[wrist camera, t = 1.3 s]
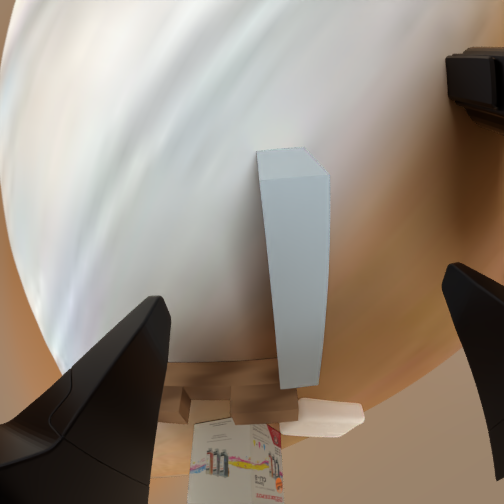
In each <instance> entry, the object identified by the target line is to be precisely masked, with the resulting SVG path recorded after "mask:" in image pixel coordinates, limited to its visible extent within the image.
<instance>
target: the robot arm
mask: <svg viewBox="0 0 504 504" xmlns="http://www.w3.org/2000/svg"><path fill="white" fill-rule="evenodd" d="M446 67H447V80H448V95H449V97H450V99H451V100H455V103H456V105H458V106H462V107H464V108H465V110H466V112H467V113H468V115H469V116H470V118H471V119H472V120H473V121H474V122H475V123H476V124H477V125H479V126H480V127H482V128H485V129H487V130H490V131H493V132H496V133H499V134H501V135H504V48H503V47H471V48H468V49H467V50H465V51H464V52H463V54H453V55H452V56H447V58H446ZM442 292H443V294H444V297H445V300H446V303H447V305H448V308H449V311H450V314H451V317H452V320H453V323H454V326H455V329H456V331H457V334H458V336H459V339H460V341H461V344H462V346H463V349H464V352H465V354H466V357H467V360H468V362H469V365H470V368H471V371H472V374H473V377H474V380H475V383H476V386H477V390H478V393H479V397H480V400H481V404H482V407H483V411H484V415H485V419H486V423H487V428H488V431H489V432H488V433H489V438H490V443H491V449H492V454H493V461H494V468H495V477H496V480H497V481H498V480H500V479H502V478H504V286H503V285H501V284H499V283H498V282H496V281H494V280H492V279H490V278H488V277H487V276H485V275H483V274H481V273H479V272H477V271H475V270H473V269H471V268H470V267H468V266H466V265H464V264H462V263H460V262H456V263H450V264H449V265H448V266H447V269H446V272H445V275H444V279H443V282H442ZM170 329H171V317H170V314H169V311H168V309H167V306H166V304H165V301H164V299H163V298H162V296H149V297H147V298H146V299H145V300H144V301H142V302H141V303H140V304H139V305H138V306H137V307H136V308H135V309H134V310H132V311H131V312H130V313H129V314H128V315H127V316H126V317H125V318H124V319H123V320H121V321H120V322H119V323H118V324H117V325H116V326H115V327H114V328H113V329H112V330H110V331H109V332H108V333H107V334H106V335H105V336H104V337H103V338H102V339H101V340H100V341H99V342H98V343H96V344H95V345H94V346H93V347H92V348H91V349H90V350H89V351H88V352H87V353H86V354H85V355H84V356H83V357H82V358H81V359H79V360H78V361H77V362H76V363H75V364H74V365H73V366H72V367H71V369H69V370H68V371H67V372H66V373H65V374H64V375H63V376H62V377H61V378H60V379H59V380H58V381H56V382H55V383H54V384H53V385H52V386H51V387H50V388H49V389H48V390H47V391H45V392H44V393H43V394H42V395H41V396H40V397H39V398H37V399H36V400H35V401H34V402H33V403H31V404H30V405H29V406H28V407H27V408H26V409H24V410H23V411H22V412H21V413H19V415H17V416H16V417H15V418H13V419H12V420H10V421H9V422H7V423H4V424H0V504H148V495H149V484H150V475H151V467H152V459H153V451H154V444H155V437H156V430H157V423H158V417H159V411H160V405H161V399H162V393H163V387H164V382H165V376H166V371H167V364H168V352H169V340H170Z"/></svg>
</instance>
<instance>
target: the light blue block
mask: <svg viewBox="0 0 504 504" xmlns="http://www.w3.org/2000/svg"><path fill="white" fill-rule="evenodd" d="M257 162H258V172H259V182H260V191H261V200H262V209H263V218H264V227H265V236H266V245H267V255H268V264H269V274H270V284H271V293H272V304H273V314H274V324H275V335H276V346H277V357H278V368H279V379H280V389H290V388H299V387H307V386H314V385H318V383H319V375H320V367H321V359H322V350H323V340H324V329H325V318H326V305H327V290H328V272H329V247H330V174H329V173H328V172H327V171H326V170H325V169H324V168H323V167H322V166H321V165H320V163H319V162H318V161H317V160H316V159H315V158H314V157H313V156H312V155H311V154H310V153H309V152H308V151H307V150H306V149H305V148H304V147H299V148H286V149H274V150H264V151H257Z"/></svg>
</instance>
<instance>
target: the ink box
mask: <svg viewBox="0 0 504 504" xmlns="http://www.w3.org/2000/svg"><path fill="white" fill-rule="evenodd" d="M187 503H188V504H284V492H283V473H282V453H281V433H280V432H278V431H276V430H275V429H273V428H272V427H270V426H268V425H267V424H251V425H235V423H234V421H233V419H232V417H231V418H227V419H222V420H216V421H211V422H205V423H199V424H194V433H193V443H192V453H191V463H190V474H189V485H188V497H187Z"/></svg>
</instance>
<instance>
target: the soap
mask: <svg viewBox="0 0 504 504" xmlns="http://www.w3.org/2000/svg"><path fill="white" fill-rule="evenodd" d="M298 406H299V415H298V421H292V422H281V423H279V426H280V432H281V434H284V435H292V436H306V437H340V436H342V435H344V434H346V433H347V432H348V431H350V430H351V429H353V428H355V427H356V426H358V425H360V424H362V423H363V422H364V420H365V417H364V413H363V409H362V405H361V404H360V403H350V402H339V401H329V400H321V399H313V398H301V399H299V400H298Z"/></svg>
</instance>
